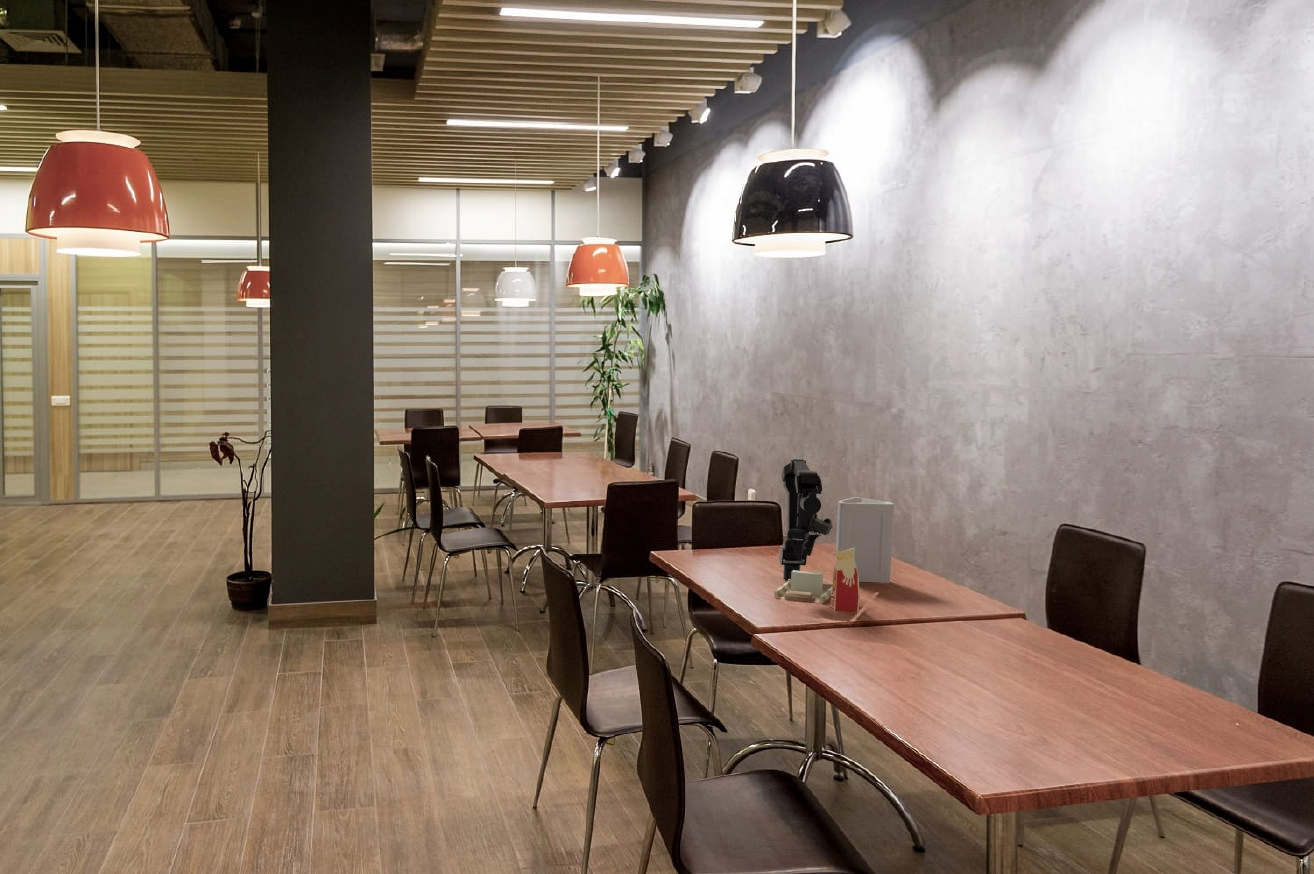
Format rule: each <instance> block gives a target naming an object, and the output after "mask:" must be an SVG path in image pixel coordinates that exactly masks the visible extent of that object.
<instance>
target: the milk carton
mask: <svg viewBox="0 0 1314 874" xmlns="http://www.w3.org/2000/svg"><path fill="white" fill-rule="evenodd" d="M831 553H832V555H833V556H834V558H836V562H835V561H834V568H833V575H832V576H833V577H832V584H833V586H832V595H831V596H830V597H831V598H830V603H829V608H831V609H832V610H833V611H835V612H836V611H843V612H844V611H845V612H854V613H855V612H856V613H858V614H859V611H860V600H861V599H860V598H861V596H860V595H861V594H860V593H861V592H860V583H859V576H858V572H857V568H856V563H855V559H854V553H855V548H852V549H849V550H845V551H838V552H836V551H832V552H831Z"/></svg>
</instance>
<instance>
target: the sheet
mask: <svg viewBox="0 0 1314 874" xmlns="http://www.w3.org/2000/svg"><path fill="white" fill-rule="evenodd" d="M823 580H824V573H821V572H813V571H806V570H805V571H803V570H800V571H796V570H793V571H792V572H791V591H798V592H809V593H812V595H815V596H821V595H822V587H823V583H824V581H823Z"/></svg>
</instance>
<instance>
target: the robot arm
mask: <svg viewBox="0 0 1314 874" xmlns="http://www.w3.org/2000/svg"><path fill="white" fill-rule="evenodd" d="M818 473H819V472H817V471H815V470H810V468H809V466H808V465H807V461H806V460H805V459H800V458H793V459H790V462H789V463H788V464H786V465H785V466H783V469H782V472H781V481H782V482H783V488H784V490H785V492H786V494H787V532H786V538H785V539H784V540H783V542H782V547H781V549H780V553H779V557H778V558H779V561H778V562H779V564H780V566H783V577H782V579H783V580H784V581H786V582H787V581H788V579H791V572H792V571H793V570H796V571H801V566H806V565H807V559H808V557H810V556H812V553H813V550H814V546H815V543H816V540H817V539H818V538H820V537H821V536H822V535H823V536H828V535H829V534H830V532H831V530H832V529H833V524H832V519H831V518H828V517H826V518H825V519H822V518H821V519H820V518H818V513H819V512H820V510H821V509H822V502H821V500H820V499H819V497H817V495H821V494H822V492H823V483H822V479H821V476H820V475H819V474H818Z"/></svg>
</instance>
